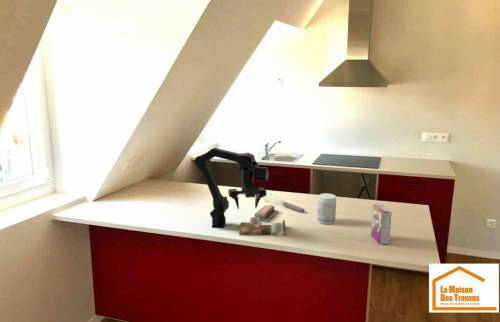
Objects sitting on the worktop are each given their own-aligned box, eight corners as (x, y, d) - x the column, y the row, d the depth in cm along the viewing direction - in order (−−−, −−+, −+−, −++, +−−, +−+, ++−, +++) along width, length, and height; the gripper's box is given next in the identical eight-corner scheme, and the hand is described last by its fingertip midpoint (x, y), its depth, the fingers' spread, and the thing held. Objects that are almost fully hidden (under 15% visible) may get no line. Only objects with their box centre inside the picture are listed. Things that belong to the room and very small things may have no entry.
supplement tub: (316, 218, 208) (317, 193, 205) (333, 218, 208) (334, 193, 205) (319, 224, 198) (320, 198, 195) (337, 224, 198) (338, 198, 195)
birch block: (250, 228, 189) (250, 220, 188) (250, 225, 193) (250, 217, 192) (258, 228, 189) (258, 220, 188) (259, 225, 193) (259, 217, 192)
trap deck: (239, 235, 186) (239, 228, 185) (241, 225, 198) (240, 219, 197) (285, 235, 185) (285, 229, 184) (284, 226, 196) (284, 220, 196)
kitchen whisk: (303, 215, 213) (303, 204, 212) (260, 202, 237) (260, 192, 236) (309, 212, 217) (309, 202, 216) (267, 200, 241) (267, 190, 240)
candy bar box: (369, 235, 185) (372, 203, 181) (379, 235, 185) (382, 203, 182) (379, 245, 174) (381, 211, 171) (389, 244, 174) (392, 211, 171)
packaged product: (267, 215, 201) (250, 212, 205) (267, 223, 202) (250, 221, 206) (278, 205, 217) (262, 202, 221) (278, 212, 218) (262, 210, 222)
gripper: (232, 184, 177) (231, 215, 181) (269, 182, 182) (268, 212, 185) (228, 178, 188) (227, 207, 191) (263, 176, 192) (263, 205, 196)
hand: (246, 208), depth 191 cm, fingers open, 9 cm apart
